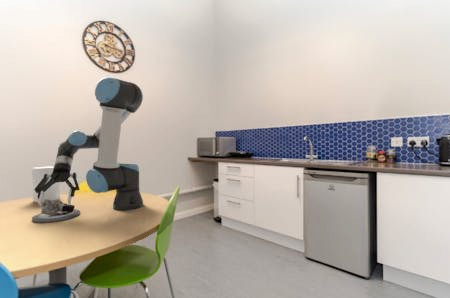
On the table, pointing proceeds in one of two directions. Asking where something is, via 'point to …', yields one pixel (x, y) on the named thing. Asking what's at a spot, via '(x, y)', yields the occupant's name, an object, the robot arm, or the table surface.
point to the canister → (38, 175)
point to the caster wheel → (55, 207)
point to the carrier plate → (55, 217)
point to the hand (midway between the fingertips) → (54, 203)
